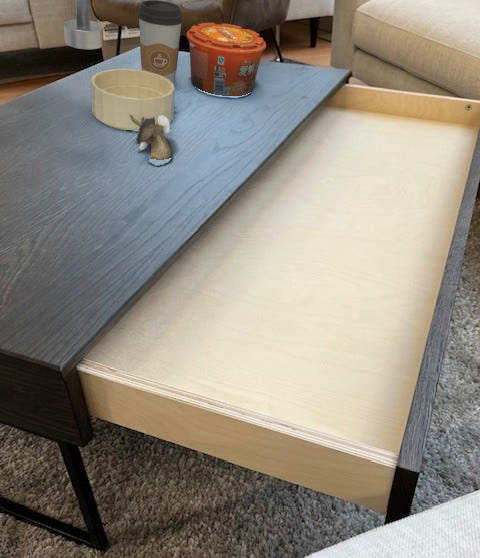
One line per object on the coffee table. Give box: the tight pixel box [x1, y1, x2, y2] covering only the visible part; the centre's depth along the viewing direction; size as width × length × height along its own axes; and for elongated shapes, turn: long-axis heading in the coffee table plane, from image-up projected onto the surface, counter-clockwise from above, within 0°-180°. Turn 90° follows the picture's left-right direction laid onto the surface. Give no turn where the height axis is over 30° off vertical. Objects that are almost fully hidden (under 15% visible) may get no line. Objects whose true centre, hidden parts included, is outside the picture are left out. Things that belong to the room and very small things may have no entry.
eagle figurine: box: [129, 115, 174, 160], centre depth 100 cm, size 8×7×9 cm
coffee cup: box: [137, 0, 183, 85], centre depth 120 cm, size 8×8×15 cm
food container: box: [186, 22, 267, 96], centre depth 126 cm, size 16×16×11 cm
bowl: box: [90, 68, 176, 131], centre depth 110 cm, size 14×14×6 cm
